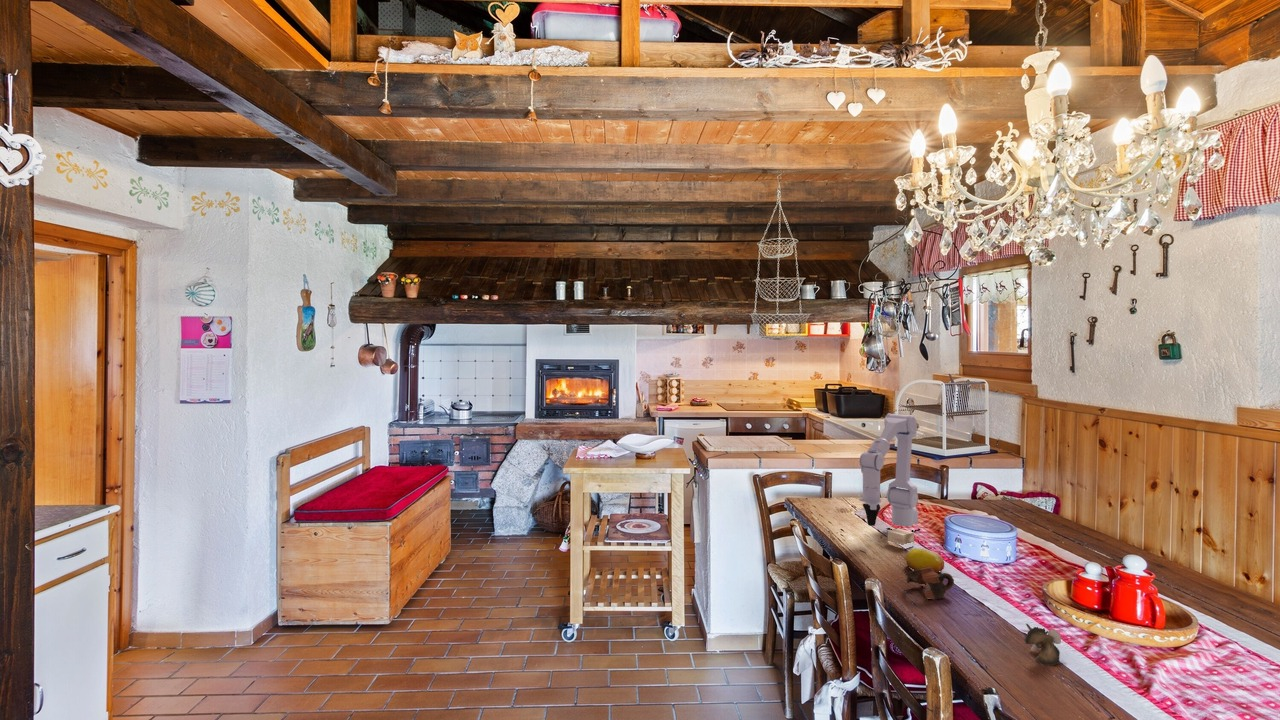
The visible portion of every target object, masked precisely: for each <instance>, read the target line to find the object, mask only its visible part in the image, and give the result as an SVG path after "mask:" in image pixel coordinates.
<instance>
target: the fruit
mask: <svg viewBox="0 0 1280 720" xmlns="http://www.w3.org/2000/svg"><path fill="white" fill-rule="evenodd" d="M905 563H906V565H908V566H909V567H910V568H912V569H914V570H918V569H924V568H933V571H934V572H935V573H937V574H939V573H938V572H939V571H941V572H942V571H943V570H944V568H945V561H944V559H943V557H942V555H940V554H939V553H938V552H936V551H934V550H930V549H927V548H921V547H919V548H916V547H915V548H913V549H910V551H908V552H907V554H906V557H905ZM908 566H907V567H908Z"/></svg>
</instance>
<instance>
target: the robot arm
mask: <svg viewBox="0 0 1280 720" xmlns="http://www.w3.org/2000/svg"><path fill="white" fill-rule="evenodd" d="M883 423H884V428H883V430H882V432H881V434H880V437H879V438H875V439H874V440H873V442H872V443H871V445H870V446H869V448H868V450H867V451H865V452H863V453H861V455H860V457H859V461H858V462H859V467H860V470H861V471H860V472H861V473H862V497H859V498H858V499H859V501H860V502H864V503H862V508H863V509H864V512H865V516H866V521H867V525H868V526H873V527H875V526H876V522H877V517H878V514H879V512H880V510H881V505H880V504H881V502H882V500H881V470H882V469H883V467H884V463H885V458H886V455H887V454H888V452H889V450H890V448H891V445H890V443H891V441H892V440H893V439H894V438H895V437H896V438H897V444H896V445H897V446H896V463H895V479H894V480H893V481H891V482H890V483H888V488H887V491H886V500H887V502H888V503H889V505H890V506H891V524H892V523H893V524H895V525H900V526H912V525H913V524H916V523H918V524H919V512H918V509H917V508H916V506H917V505H918V502H919V494H918V487H917V485H915V484H914V483H913V482H912V481H911V463H912V461H911V460H912V445H913V443H912V442H913V438H915V437H916V436H917V435H916V434H917V425H918V424H917V423H918V422H917V419H916V417H915V416H914V415H913V414H909V415H908V414H898V413H897V414H896V413H887V414H886V415H885V417H884V422H883Z"/></svg>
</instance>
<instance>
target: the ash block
mask: <svg viewBox="0 0 1280 720" xmlns="http://www.w3.org/2000/svg"><path fill="white" fill-rule="evenodd" d="M888 541H891V542H894V543H898V544H901V545H904V544H907V543H911V542H914V543H915V531H913V532H910V531H907V530H903V529H900V528H897V529H893V530H891V529H888V530H887V542H888Z"/></svg>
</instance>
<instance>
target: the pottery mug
mask: <svg viewBox="0 0 1280 720" xmlns="http://www.w3.org/2000/svg"><path fill="white" fill-rule="evenodd" d="M905 575H906V580H905V581H906V583H907V584H909V583H915V584H916V583H917V584H918V585H919V584H925V585H926V586H927V584H928V586H929V587H930V589H929V590H926V591H924V592H923V594H924V597H925V599H926V598H931V599H933V600H942V599H941V598H943V597H944V598H945V593H946V592H947V591H948V590H950V589H952V587H954V583H955V580H954V577H953V576H952V574H950V573H948V572H942V573H941V572H940V573H935V572H934V571H933V568H924V569H918V570H914V571H911V570H910V571H908V572H906V573H905ZM945 579H947V583H946V584H944V580H945ZM944 598H943V599H944Z"/></svg>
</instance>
